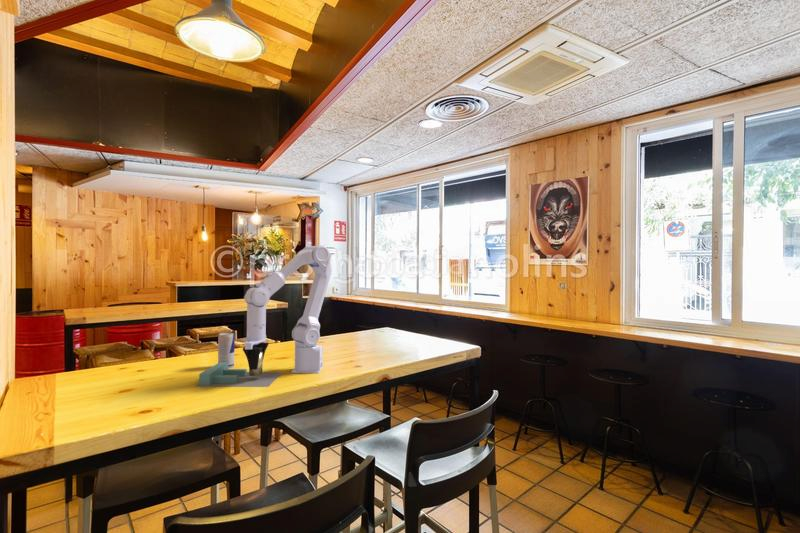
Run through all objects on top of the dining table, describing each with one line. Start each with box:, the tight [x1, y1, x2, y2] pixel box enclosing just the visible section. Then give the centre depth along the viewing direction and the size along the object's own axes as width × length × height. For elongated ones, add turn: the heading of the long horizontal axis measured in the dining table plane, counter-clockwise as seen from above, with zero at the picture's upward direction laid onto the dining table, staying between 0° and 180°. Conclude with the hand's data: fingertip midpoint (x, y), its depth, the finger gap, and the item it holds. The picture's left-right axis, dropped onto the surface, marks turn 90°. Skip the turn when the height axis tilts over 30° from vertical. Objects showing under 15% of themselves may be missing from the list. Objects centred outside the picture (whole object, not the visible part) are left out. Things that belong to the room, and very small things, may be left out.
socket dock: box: [198, 362, 248, 386], centre depth 124 cm, size 10×14×4 cm
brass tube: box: [248, 351, 264, 376], centre depth 124 cm, size 4×4×7 cm
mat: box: [194, 371, 283, 388], centre depth 124 cm, size 22×16×1 cm
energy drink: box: [217, 332, 236, 369], centre depth 139 cm, size 5×5×12 cm
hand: (255, 367), depth 124 cm, fingers closed on brass tube, 4 cm apart
